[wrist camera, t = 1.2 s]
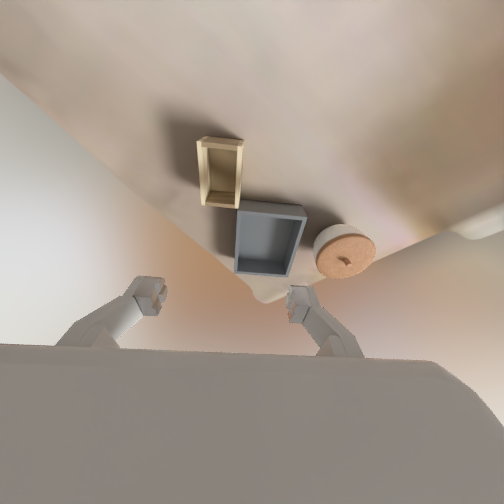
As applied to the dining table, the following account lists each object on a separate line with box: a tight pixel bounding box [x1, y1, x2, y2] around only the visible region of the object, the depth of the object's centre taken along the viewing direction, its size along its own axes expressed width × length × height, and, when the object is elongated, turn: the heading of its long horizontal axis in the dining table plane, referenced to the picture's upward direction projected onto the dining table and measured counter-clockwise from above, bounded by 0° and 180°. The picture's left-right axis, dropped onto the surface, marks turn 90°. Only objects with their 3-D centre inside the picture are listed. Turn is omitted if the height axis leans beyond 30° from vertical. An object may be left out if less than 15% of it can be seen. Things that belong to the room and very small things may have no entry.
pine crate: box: [197, 136, 244, 209], centre depth 29 cm, size 9×6×6 cm, turn 174°
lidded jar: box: [313, 224, 376, 279], centre depth 37 cm, size 11×11×9 cm
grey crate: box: [234, 199, 308, 277], centre depth 38 cm, size 15×12×5 cm
